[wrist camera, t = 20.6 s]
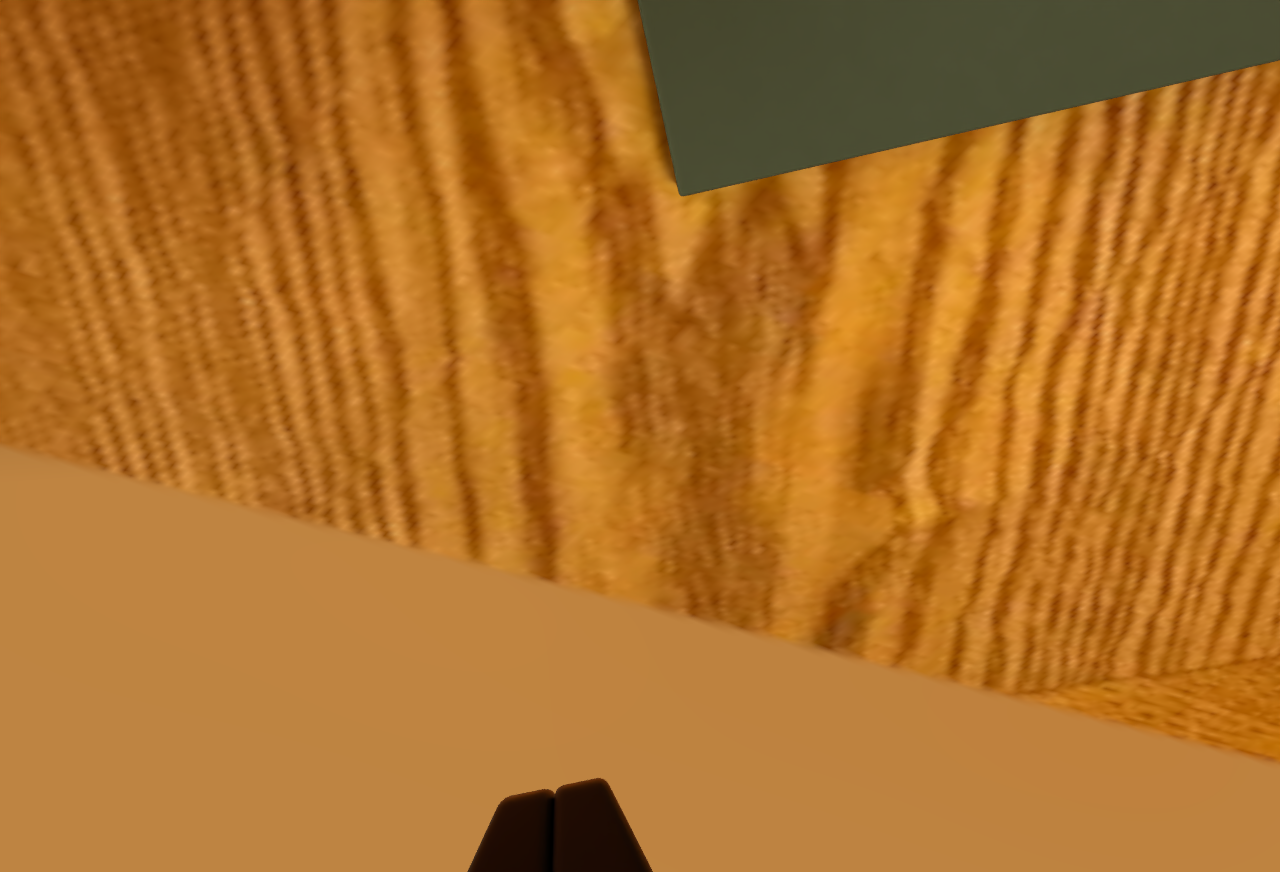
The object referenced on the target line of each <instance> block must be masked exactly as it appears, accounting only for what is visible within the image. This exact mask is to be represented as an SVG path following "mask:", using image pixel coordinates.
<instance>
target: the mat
mask: <svg viewBox="0 0 1280 872" xmlns="http://www.w3.org/2000/svg"><path fill="white" fill-rule="evenodd" d="M638 4H639V9H640V14H641V18H642V23H643V28H644V32H645V37H646V42H647V46H648V51H649V56H650V60H651V65H652V70H653V74H654V79H655V84H656V88H657V93H658V98H659V102H660V107H661V112H662V116H663V121H664V126H665V130H666V135H667V140H668V144H669V149H670V154H671V158H672V163H673V168H674V172H675V177H676V182H677V186H678V191H679V194H680V196H687V195H692V194H696V193H700V192H705V191H709V190H714V189H718V188H722V187H727V186H731V185H735V184H740V183H744V182H749V181H753V180H757V179H762V178H766V177H770V176H775V175H779V174H784V173H788V172H792V171H797V170H801V169H805V168H810V167H814V166H819V165H823V164H827V163H832V162H836V161H841V160H845V159H849V158H854V157H858V156H862V155H867V154H871V153H876V152H880V151H884V150H889V149H893V148H897V147H902V146H906V145H911V144H915V143H919V142H924V141H928V140H932V139H937V138H941V137H946V136H950V135H954V134H959V133H963V132H968V131H972V130H976V129H981V128H985V127H989V126H994V125H998V124H1003V123H1007V122H1011V121H1016V120H1020V119H1024V118H1029V117H1033V116H1038V115H1042V114H1046V113H1051V112H1055V111H1059V110H1064V109H1068V108H1073V107H1077V106H1081V105H1086V104H1090V103H1095V102H1099V101H1103V100H1108V99H1112V98H1116V97H1121V96H1125V95H1130V94H1134V93H1138V92H1143V91H1147V90H1151V89H1156V88H1160V87H1165V86H1169V85H1173V84H1178V83H1182V82H1186V81H1191V80H1195V79H1200V78H1204V77H1208V76H1213V75H1217V74H1222V73H1226V72H1230V71H1235V70H1239V69H1243V68H1248V67H1252V66H1257V65H1261V64H1265V63H1270V62H1274V61H1278V60H1280V0H638Z"/></svg>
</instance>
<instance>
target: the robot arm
mask: <svg viewBox="0 0 1280 872" xmlns="http://www.w3.org/2000/svg"><path fill="white" fill-rule="evenodd" d="M468 872H653V871H652V869H651V867H650V865H649V863H648V861H647V859H646V857H645V855H644V853H643V851H642V849H641V847H640V845H639V843H638V841H637V839H636V837H635V835H634V834H633V831H632V829H631V828H630V825H629V823H628V822H627V820H626V817H625V816H624V814H623V811H622V810H621V808H620V806H619V804H618V802H617V800H616V798H615V796H614V794H613V792H612V790H611V788H610V786H609V784H608V783H607V782H606V781H605V780H604V779H601V778H596V779H591V780H586V781H581V782H577V783H572V784H567V785H563V786H561V787H559V788H558V789H557V791H556V793H555V794H554V792H553V791H551V790H548V789H547V790H546V789H542V790H537V791H532V792H527V793H522V794H518V795H513V796H509V797H507V798H505V799H504V800H503V801H502V802H501V803H500V804H499V805H498V807H497V809H496V811H495V814H494V816H493V818H492V820H491V822H490V825H489V826H488V829H487V831H486V833H485V835H484V837H483V839H482V842H481V844H480V846H479V848H478V850H477V852H476V855H475V857H474V859H473V861H472V863H471V865H470V868H469V870H468Z"/></svg>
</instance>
